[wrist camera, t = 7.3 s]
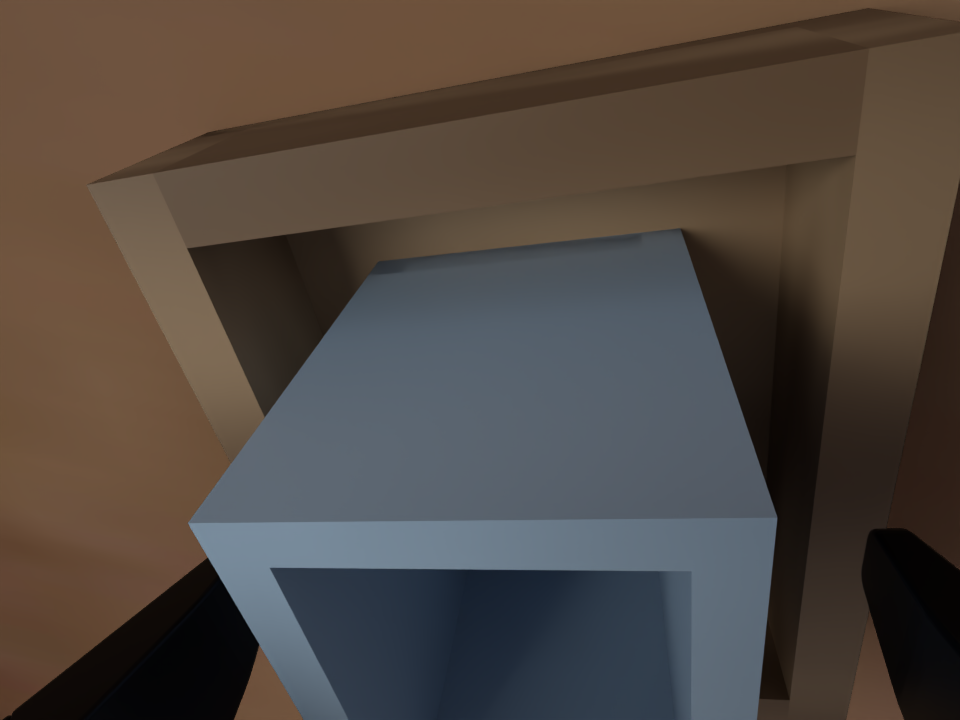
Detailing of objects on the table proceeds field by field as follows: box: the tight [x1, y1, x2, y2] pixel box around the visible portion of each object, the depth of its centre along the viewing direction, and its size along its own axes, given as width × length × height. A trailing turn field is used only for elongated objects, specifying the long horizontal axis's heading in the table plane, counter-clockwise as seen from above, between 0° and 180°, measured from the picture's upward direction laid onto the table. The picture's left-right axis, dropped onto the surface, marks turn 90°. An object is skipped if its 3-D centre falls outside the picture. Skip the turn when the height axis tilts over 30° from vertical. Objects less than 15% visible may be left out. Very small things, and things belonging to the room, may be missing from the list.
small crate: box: [188, 228, 777, 720], centre depth 9 cm, size 7×5×6 cm
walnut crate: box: [87, 8, 960, 720], centre depth 11 cm, size 12×10×3 cm
